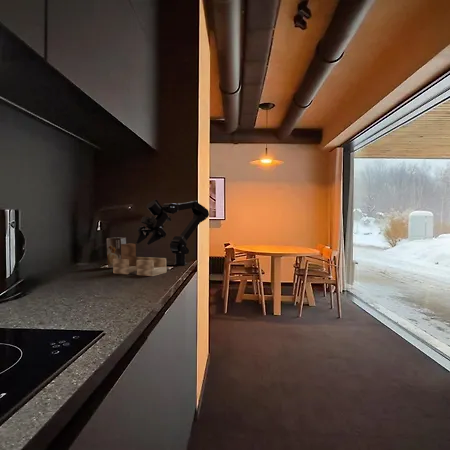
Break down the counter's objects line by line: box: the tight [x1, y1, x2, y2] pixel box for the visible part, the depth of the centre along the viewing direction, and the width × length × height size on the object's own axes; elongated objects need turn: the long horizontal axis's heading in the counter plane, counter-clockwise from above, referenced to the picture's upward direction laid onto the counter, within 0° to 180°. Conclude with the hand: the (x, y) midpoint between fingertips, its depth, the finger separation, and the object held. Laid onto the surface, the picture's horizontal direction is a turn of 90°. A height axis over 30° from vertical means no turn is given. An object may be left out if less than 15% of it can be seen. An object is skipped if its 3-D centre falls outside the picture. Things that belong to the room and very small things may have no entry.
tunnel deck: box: [112, 256, 168, 277], centre depth 194 cm, size 24×11×7 cm, turn 64°
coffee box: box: [106, 237, 128, 269], centre depth 215 cm, size 9×6×16 cm
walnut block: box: [121, 243, 137, 267], centre depth 196 cm, size 5×5×11 cm
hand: (142, 243), depth 203 cm, fingers open, 9 cm apart
